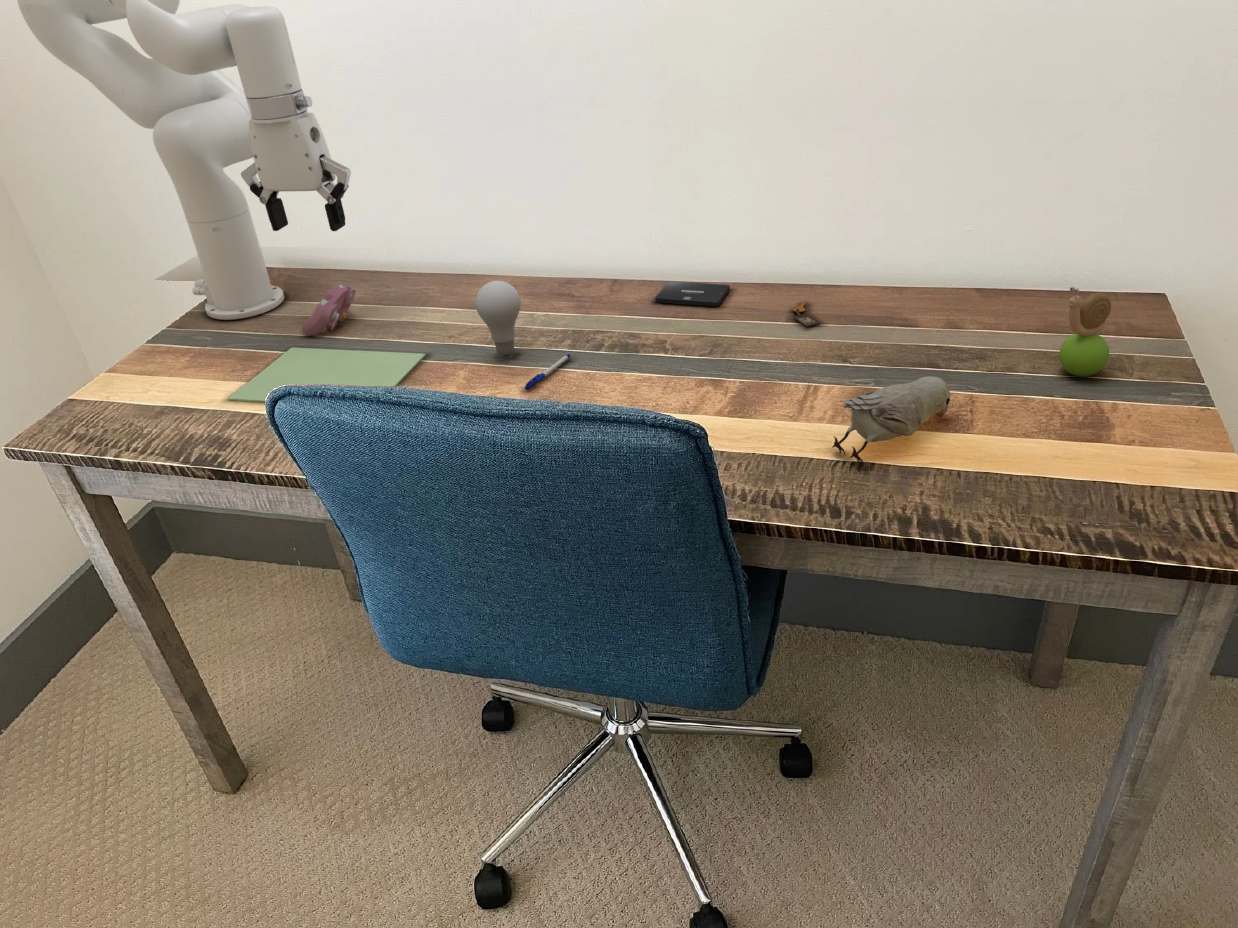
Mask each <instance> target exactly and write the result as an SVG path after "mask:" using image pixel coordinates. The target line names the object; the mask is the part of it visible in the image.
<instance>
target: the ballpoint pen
mask: <svg viewBox="0 0 1238 928" xmlns="http://www.w3.org/2000/svg"><path fill="white" fill-rule="evenodd" d="M570 357H571V354H570V353H568V354H566V355H564V356H562V357H561V358H559V359H558V360H557V361H556V362H554V363H553V364H552V365H551V366H549V367H548V368H547V369H545V370H544V371H542V372H541V373H537V374H536V375H535V376H534V377H532V378H531V379H530V380H529V381H528V382H527V383H526V384H525V385H524V389H525V390H526V391H529V390H530V389H532V388H534V387H535V386H536V385H537V384H539V383H540V382H541V381H542V380H544V379H545V378H546V377H547V376H548V375H550V374H551V373H553V371H555V370H556V369H557V368H559V367H561V365H563V364H564V363H565V362H567V361H568V360H569V358H570Z"/></svg>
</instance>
